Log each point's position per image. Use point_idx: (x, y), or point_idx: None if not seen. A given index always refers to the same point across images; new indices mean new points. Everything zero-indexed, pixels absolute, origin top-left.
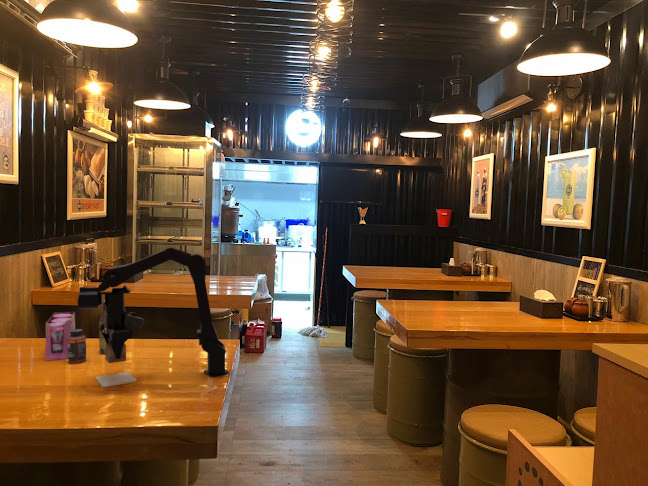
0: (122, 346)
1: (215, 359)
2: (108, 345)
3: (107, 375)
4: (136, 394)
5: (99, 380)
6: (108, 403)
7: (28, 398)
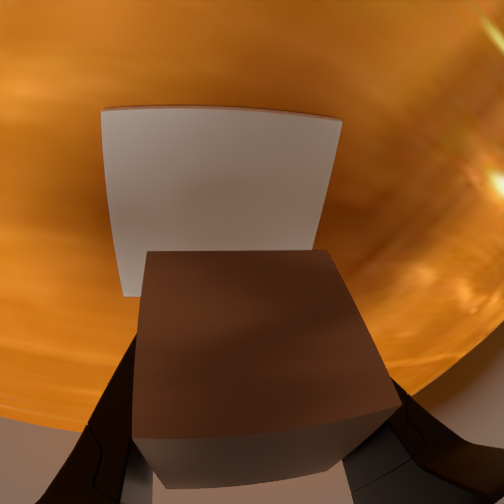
0: (423, 416)
1: None
2: (257, 482)
3: (119, 245)
4: (477, 201)
5: None
6: (456, 290)
7: None
